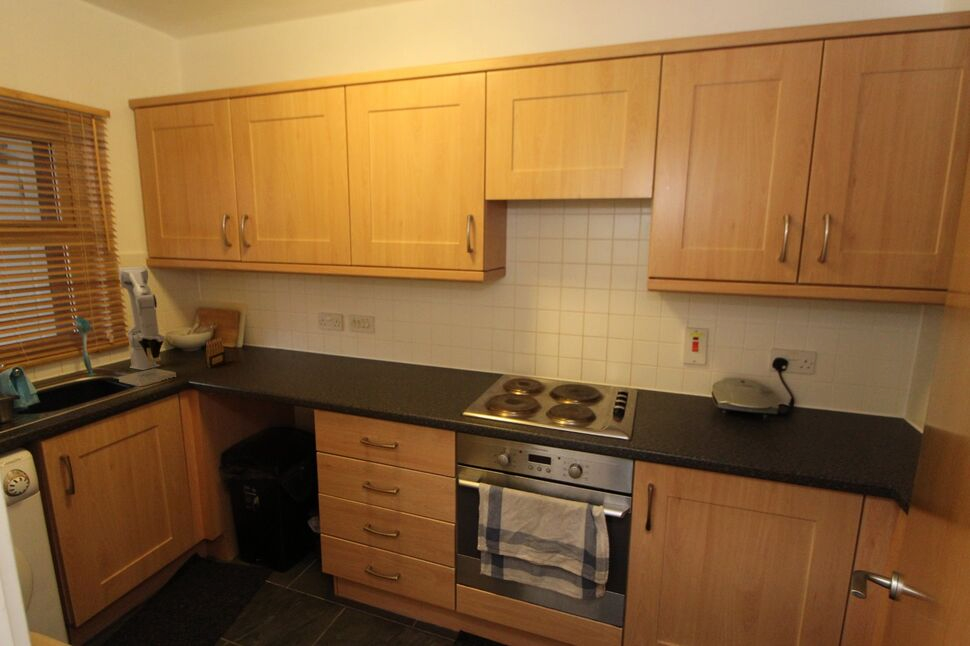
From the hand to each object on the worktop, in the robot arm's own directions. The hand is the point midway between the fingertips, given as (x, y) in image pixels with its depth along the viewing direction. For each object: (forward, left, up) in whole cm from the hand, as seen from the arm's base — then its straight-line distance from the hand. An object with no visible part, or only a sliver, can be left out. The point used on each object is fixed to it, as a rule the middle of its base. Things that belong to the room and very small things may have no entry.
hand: (153, 357), depth 204 cm
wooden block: (0, +1, -2) cm, 2 cm away
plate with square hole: (+1, -3, -9) cm, 9 cm away
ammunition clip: (+6, +24, -9) cm, 26 cm away
